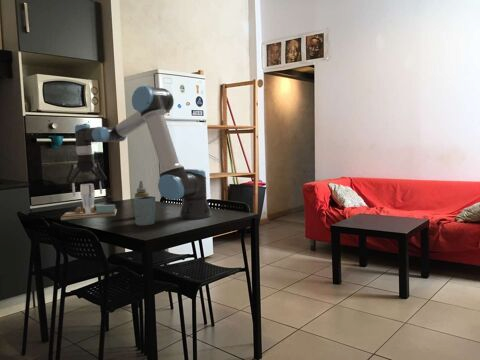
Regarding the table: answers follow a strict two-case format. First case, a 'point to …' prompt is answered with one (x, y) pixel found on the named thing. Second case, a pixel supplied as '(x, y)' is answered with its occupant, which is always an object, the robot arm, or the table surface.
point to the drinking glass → (144, 210)
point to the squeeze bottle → (141, 191)
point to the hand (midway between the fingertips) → (87, 194)
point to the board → (85, 214)
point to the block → (105, 209)
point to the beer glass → (87, 197)
